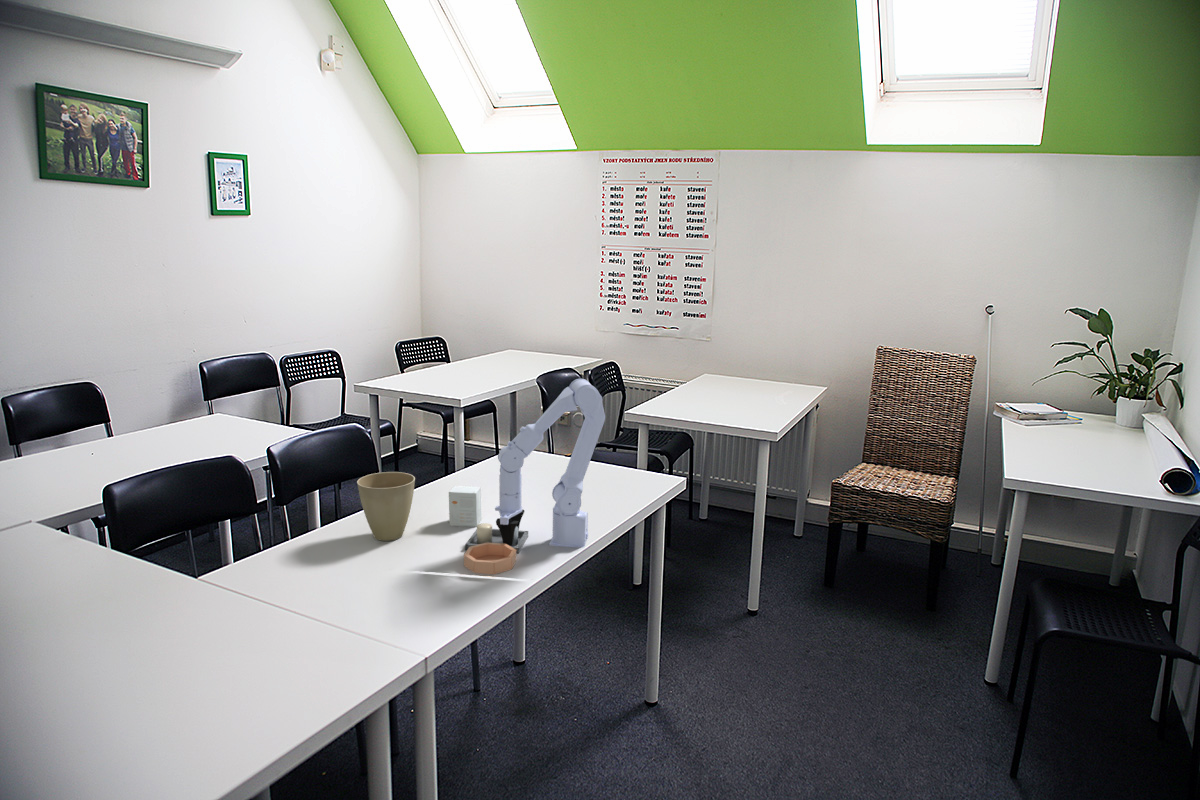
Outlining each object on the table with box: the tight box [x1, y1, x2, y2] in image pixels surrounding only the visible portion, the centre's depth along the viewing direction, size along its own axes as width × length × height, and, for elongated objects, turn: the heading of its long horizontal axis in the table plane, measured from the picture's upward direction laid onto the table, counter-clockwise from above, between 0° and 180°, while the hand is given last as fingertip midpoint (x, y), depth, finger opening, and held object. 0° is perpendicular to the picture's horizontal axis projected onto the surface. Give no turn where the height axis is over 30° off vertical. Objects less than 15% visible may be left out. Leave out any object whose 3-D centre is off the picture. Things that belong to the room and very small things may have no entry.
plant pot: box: [356, 471, 416, 542], centre depth 209 cm, size 15×15×16 cm
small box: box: [448, 485, 483, 528], centre depth 219 cm, size 8×6×10 cm
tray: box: [464, 528, 529, 555], centre depth 206 cm, size 14×12×2 cm
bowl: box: [463, 542, 517, 577], centre depth 193 cm, size 12×12×4 cm
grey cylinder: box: [512, 526, 518, 547], centre depth 205 cm, size 4×4×4 cm
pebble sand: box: [476, 522, 493, 544], centre depth 206 cm, size 4×4×4 cm
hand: (510, 541), depth 206 cm, fingers open, 5 cm apart
